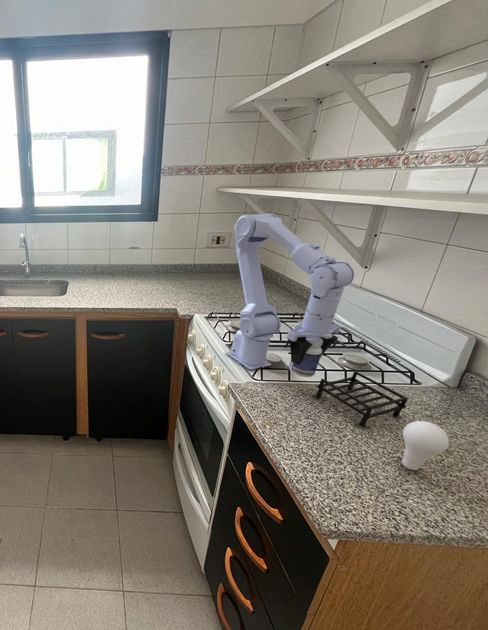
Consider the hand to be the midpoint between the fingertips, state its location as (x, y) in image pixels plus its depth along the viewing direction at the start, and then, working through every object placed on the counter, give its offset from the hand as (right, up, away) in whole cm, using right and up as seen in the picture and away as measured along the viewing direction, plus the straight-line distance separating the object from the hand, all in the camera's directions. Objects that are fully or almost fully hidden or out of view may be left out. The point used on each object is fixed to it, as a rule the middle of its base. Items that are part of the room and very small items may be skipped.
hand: (304, 360), depth 88 cm
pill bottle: (0, -3, +1) cm, 4 cm away
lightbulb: (+7, -19, -19) cm, 28 cm away
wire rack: (+11, -11, -2) cm, 16 cm away
